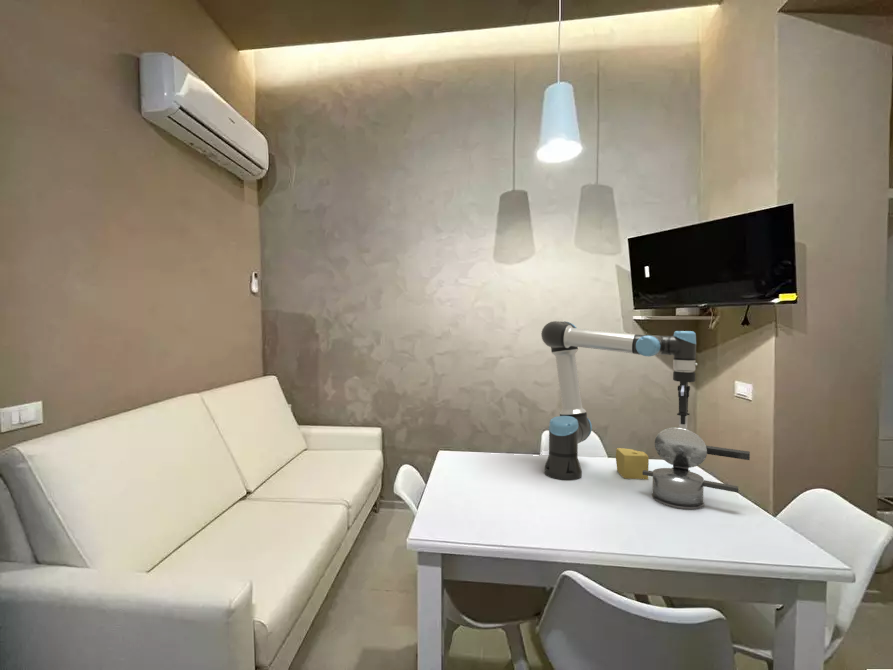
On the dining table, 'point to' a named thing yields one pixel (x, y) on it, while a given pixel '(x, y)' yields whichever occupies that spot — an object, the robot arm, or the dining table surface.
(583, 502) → the dining table surface
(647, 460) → the cheese
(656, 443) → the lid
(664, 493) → the pot
